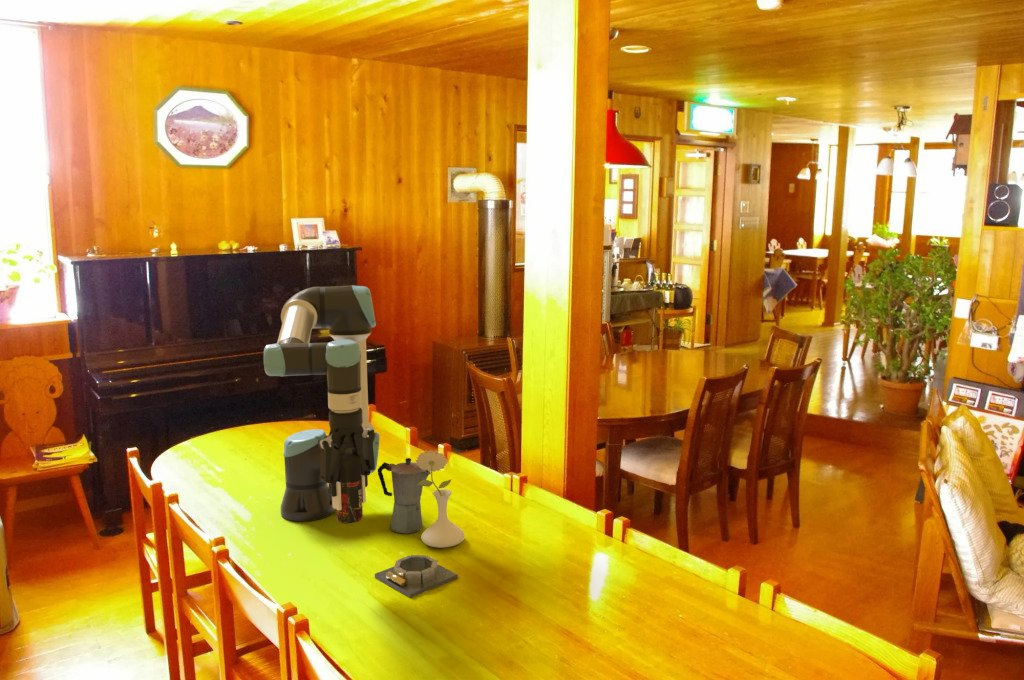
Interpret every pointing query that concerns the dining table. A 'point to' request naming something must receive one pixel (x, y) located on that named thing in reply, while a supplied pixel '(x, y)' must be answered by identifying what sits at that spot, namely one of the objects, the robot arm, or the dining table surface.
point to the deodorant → (350, 489)
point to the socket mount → (415, 575)
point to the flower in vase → (439, 505)
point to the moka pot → (405, 495)
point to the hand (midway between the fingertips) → (349, 504)
